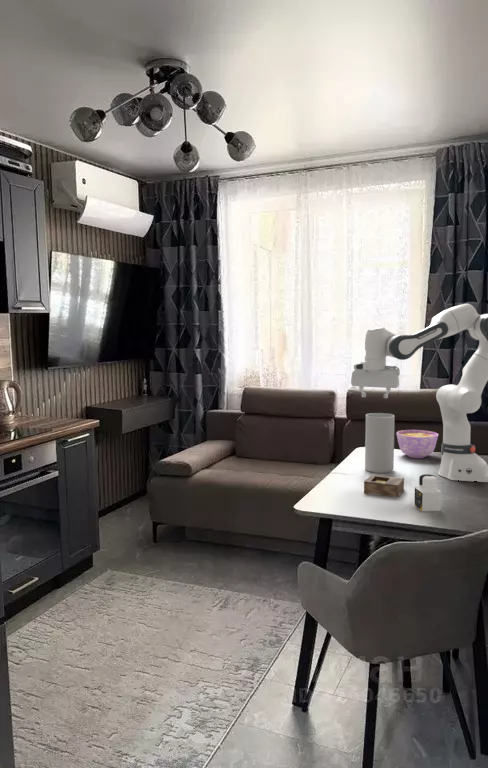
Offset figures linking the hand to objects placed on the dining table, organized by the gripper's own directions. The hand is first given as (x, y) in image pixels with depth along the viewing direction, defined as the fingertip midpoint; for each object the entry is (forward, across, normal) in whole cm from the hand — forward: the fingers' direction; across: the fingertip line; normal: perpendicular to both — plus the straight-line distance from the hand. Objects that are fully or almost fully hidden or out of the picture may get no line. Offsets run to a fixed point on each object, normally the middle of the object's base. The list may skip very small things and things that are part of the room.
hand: (374, 397), depth 251 cm
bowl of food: (+34, -10, -45) cm, 58 cm away
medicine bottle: (+34, -29, +37) cm, 58 cm away
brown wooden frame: (+34, -10, +22) cm, 42 cm away
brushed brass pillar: (+34, -8, +22) cm, 42 cm away
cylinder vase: (+34, 0, -10) cm, 36 cm away
